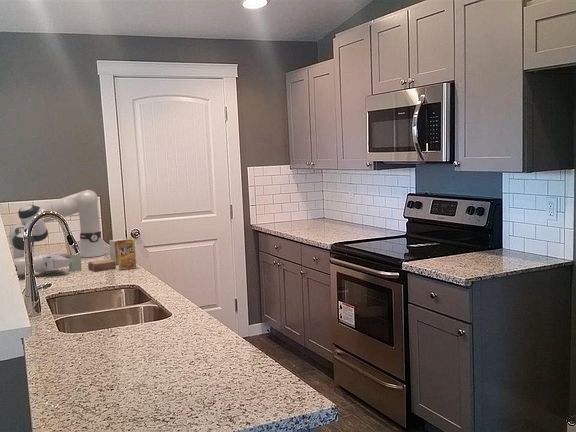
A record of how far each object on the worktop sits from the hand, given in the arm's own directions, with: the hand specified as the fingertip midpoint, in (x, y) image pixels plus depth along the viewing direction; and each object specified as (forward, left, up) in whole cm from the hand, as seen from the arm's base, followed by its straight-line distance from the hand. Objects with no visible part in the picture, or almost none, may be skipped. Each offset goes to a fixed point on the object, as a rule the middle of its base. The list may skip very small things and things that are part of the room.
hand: (72, 258), depth 308 cm
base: (+9, +12, -6) cm, 16 cm away
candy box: (+19, +22, -6) cm, 30 cm away
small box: (+1, +25, -6) cm, 26 cm away
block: (0, +1, -6) cm, 6 cm away
